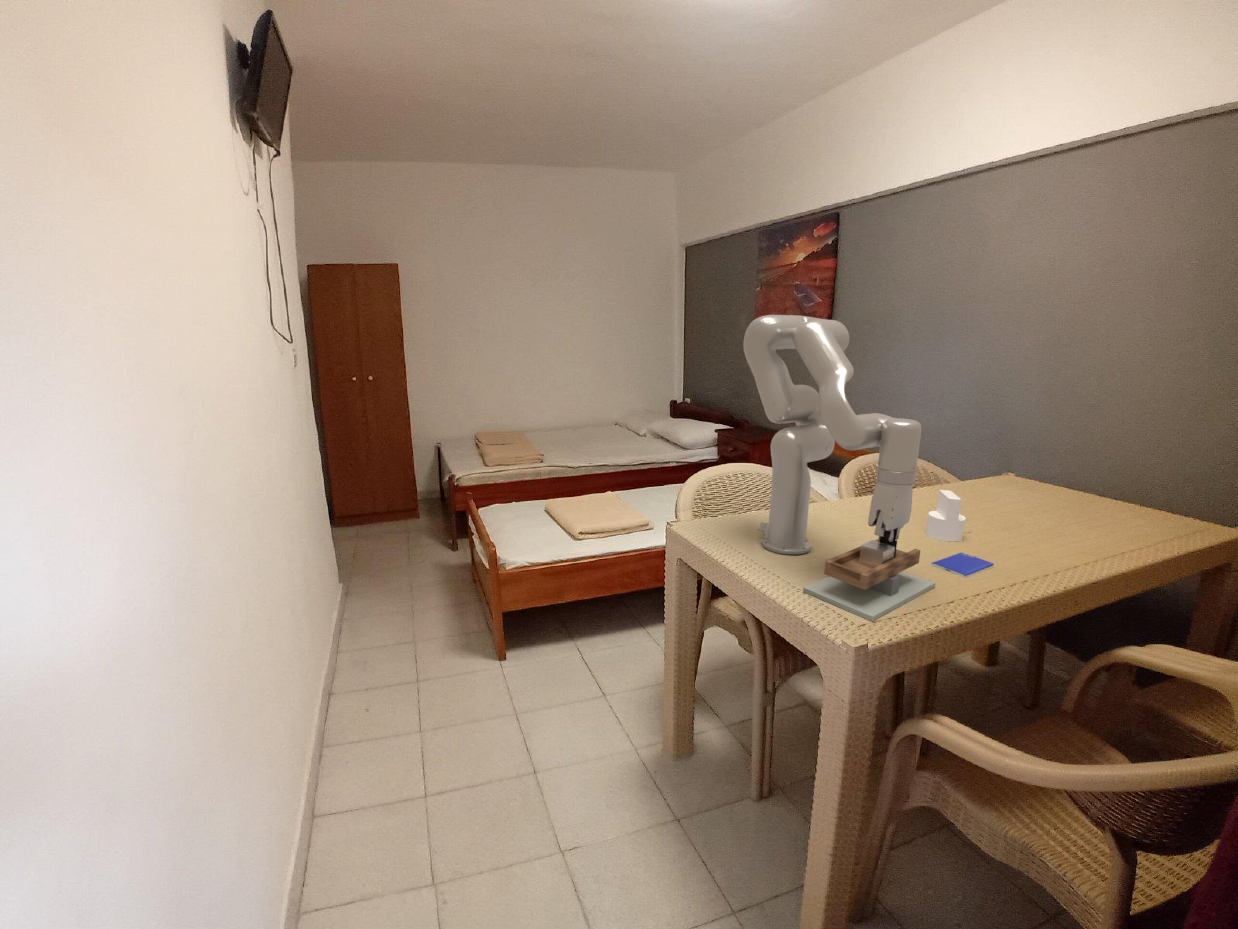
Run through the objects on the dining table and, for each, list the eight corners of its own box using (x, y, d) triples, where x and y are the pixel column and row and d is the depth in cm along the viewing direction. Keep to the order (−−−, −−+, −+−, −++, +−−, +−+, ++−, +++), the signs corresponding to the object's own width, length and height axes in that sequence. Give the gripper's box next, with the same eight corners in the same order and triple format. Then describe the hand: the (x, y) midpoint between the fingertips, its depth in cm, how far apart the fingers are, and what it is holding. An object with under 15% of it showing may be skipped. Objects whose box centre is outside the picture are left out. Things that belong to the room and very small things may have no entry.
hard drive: (960, 551, 149) (931, 561, 143) (994, 563, 142) (965, 574, 136) (959, 557, 150) (930, 567, 143) (993, 569, 143) (964, 580, 137)
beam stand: (868, 563, 144) (870, 545, 143) (934, 587, 131) (937, 567, 130) (803, 591, 128) (805, 571, 127) (872, 621, 116) (874, 599, 115)
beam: (878, 550, 139) (880, 538, 138) (918, 563, 132) (920, 550, 131) (823, 574, 126) (825, 561, 125) (864, 589, 119) (866, 576, 118)
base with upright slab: (967, 543, 158) (974, 500, 155) (930, 540, 160) (937, 498, 157) (955, 532, 166) (962, 491, 164) (921, 529, 168) (927, 489, 165)
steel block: (858, 562, 128) (860, 545, 127) (870, 556, 131) (872, 539, 130) (881, 570, 124) (883, 552, 123) (892, 564, 127) (895, 546, 126)
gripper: (896, 468, 134) (887, 544, 138) (860, 478, 125) (852, 559, 129) (929, 474, 128) (919, 553, 132) (895, 485, 119) (885, 570, 123)
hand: (886, 556), depth 131 cm, fingers closed
